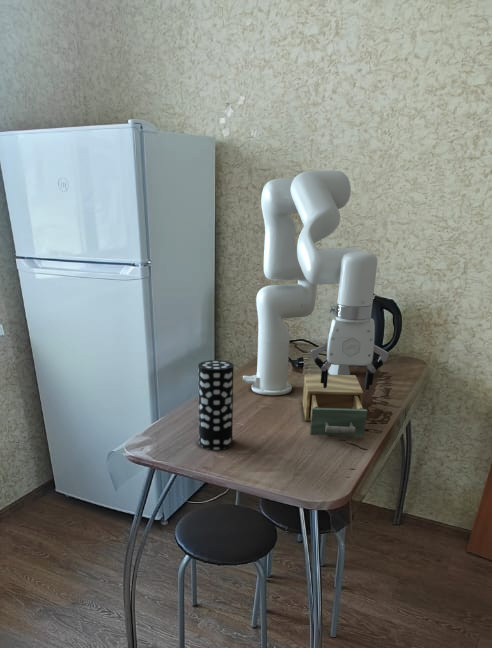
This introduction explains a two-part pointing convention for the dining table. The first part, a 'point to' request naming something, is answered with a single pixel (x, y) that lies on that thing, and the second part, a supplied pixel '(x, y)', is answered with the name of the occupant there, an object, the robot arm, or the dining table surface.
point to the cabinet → (329, 388)
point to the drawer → (337, 415)
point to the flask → (339, 370)
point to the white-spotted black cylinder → (215, 404)
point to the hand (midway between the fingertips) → (345, 387)
